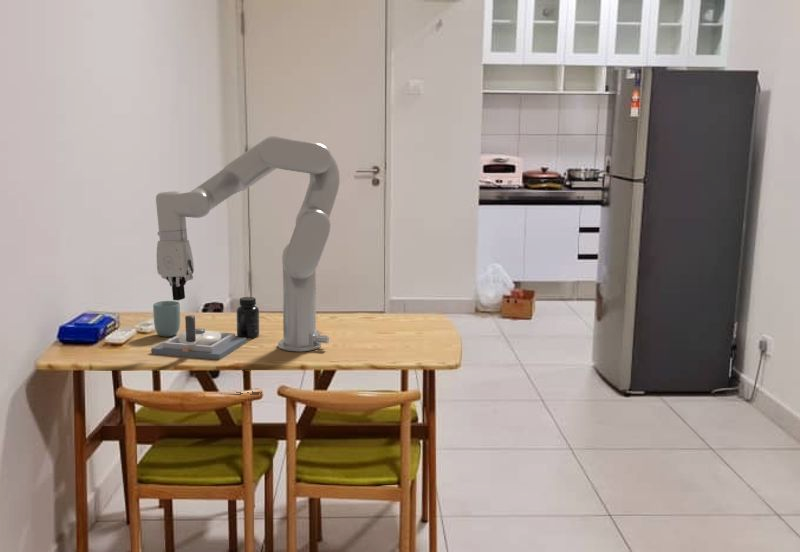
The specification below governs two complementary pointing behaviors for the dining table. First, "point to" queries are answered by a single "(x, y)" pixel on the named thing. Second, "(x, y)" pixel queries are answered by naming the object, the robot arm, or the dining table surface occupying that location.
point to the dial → (197, 334)
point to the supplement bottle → (247, 318)
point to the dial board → (200, 347)
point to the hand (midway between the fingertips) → (179, 299)
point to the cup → (166, 318)
